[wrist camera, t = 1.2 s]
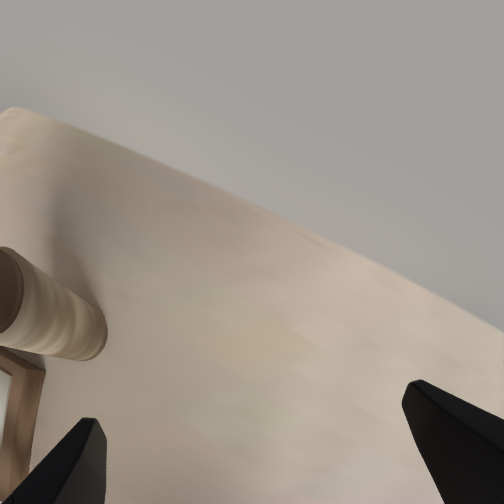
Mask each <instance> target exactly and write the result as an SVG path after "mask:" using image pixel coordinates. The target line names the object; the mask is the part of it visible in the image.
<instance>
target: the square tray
mask: <svg viewBox="0 0 504 504" xmlns="http://www.w3.org/2000/svg"><path fill="white" fill-rule="evenodd" d="M45 373H46V371H45V370H43V369H41V368H39V367H37V366H35V365H33V364H31V363H29V362H27V361H25V360H24V359H22V358H20V357H18V356H16V355H15V354H13V353H11V352H9V351H8V350H6V349H4V348H2V347H1V346H0V501H2V502H3V501H4V500H5V499H6V498H7V497H8V496H9V495H10V494H12V492H13V491H14V490H15V489H16V488H17V486H18V485H19V484H20V483H21V482H22V481H23V480H24V479H25V478H26V477H27V476H28V474H29V464H30V456H31V448H32V441H33V434H34V428H35V422H36V416H37V411H38V406H39V401H40V396H41V391H42V386H43V382H44V378H45Z"/></svg>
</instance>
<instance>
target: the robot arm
mask: <svg viewBox="0 0 504 504" xmlns="http://www.w3.org/2000/svg"><path fill="white" fill-rule="evenodd" d="M402 408H403V411H404V414H405V416H406V419H407V421H408V424H409V427H410V430H411V432H412V435H413V438H414V440H415V443H416V445H417V447H418V450H419V452H420V454H421V456H422V458H423V460H424V462H425V464H426V466H427V468H428V470H429V472H430V474H431V476H432V478H433V480H434V482H435V484H436V486H437V489H438V491H439V493H440V495H441V497H442V499H443V501H444V504H504V419H501V418H499V417H497V416H495V415H493V414H491V413H489V412H487V411H485V410H482V409H480V408H478V407H476V406H474V405H472V404H470V403H468V402H466V401H464V400H462V399H460V398H458V397H456V396H454V395H452V394H450V393H448V392H446V391H444V390H442V389H440V388H438V387H436V386H434V385H432V384H430V383H428V382H426V381H424V380H416V381H412V382H410V383H409V384H408V386H407V388H406V391H405V394H404V396H403V399H402ZM106 456H107V439H106V436H105V434H104V432H103V430H102V428H101V426H100V424H99V422H98V420H97V419H96V418H86V417H85V418H82V419H81V420H80V421H79V422H78V423H77V424H76V425H75V426H74V427H73V428H72V429H71V430H70V431H69V432H68V433H67V434H66V435H65V436H64V438H63V439H62V440H61V441H60V442H59V443H58V444H57V445H56V446H55V447H54V448H53V449H52V450H51V451H50V452H49V453H48V454H47V456H46V457H45V458H44V459H43V460H42V461H41V462H40V463H39V464H38V465H37V466H36V467H35V468H34V469H33V470H32V471H31V473H30V474H29V475H28V476H27V477H26V478H25V479H24V480H23V481H22V482H21V483H20V484H19V485H18V486H17V488H16V489H15V490H14V491H13V492H12V494H10V495H9V496H8V497H7V498H6V499H5V500H4V501H3V502H2V503H1V504H104V503H105V494H106Z"/></svg>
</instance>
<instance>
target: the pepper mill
mask: <svg viewBox="0 0 504 504" xmlns="http://www.w3.org/2000/svg"><path fill="white" fill-rule="evenodd" d="M106 340H107V324H106V321H105V318H104V316H103V315H102V313H101V312H100V311H99V310H98V309H97V308H96V307H95V306H93V305H92V304H90V303H88V302H87V301H85V300H84V299H82V298H81V297H79V296H78V295H76V294H74V293H73V292H71V291H70V290H68V289H67V288H65V287H64V286H63V285H61V284H60V283H58V282H57V281H55V280H54V279H52V278H51V277H49V276H48V275H47V274H45V273H44V272H42V271H41V270H40V269H38V268H37V267H35V266H34V265H33V264H31V263H30V262H29V261H27V260H26V259H25V258H23V257H22V256H21V255H19V254H18V253H17V252H15V251H14V250H12V249H10V248H8V247H0V345H1V346H5V347H9V348H14V349H18V350H23V351H28V352H33V353H38V354H43V355H48V356H53V357H59V358H65V359H71V360H77V361H87V360H90V359H92V358H94V357H96V356H97V355H98V354H99V353H100V352H101V351H102V349H103V348H104V346H105V343H106Z"/></svg>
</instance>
